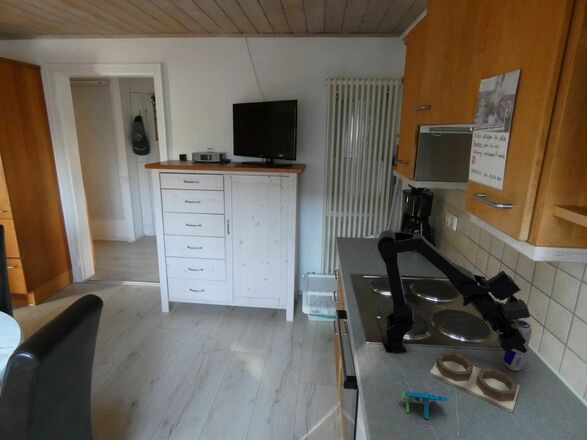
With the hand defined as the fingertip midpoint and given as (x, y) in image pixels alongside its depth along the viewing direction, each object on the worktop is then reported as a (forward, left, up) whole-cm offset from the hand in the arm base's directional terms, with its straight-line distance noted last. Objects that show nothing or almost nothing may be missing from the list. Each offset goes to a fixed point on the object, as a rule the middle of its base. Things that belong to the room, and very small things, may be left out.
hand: (522, 345), depth 102 cm
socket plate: (+5, -16, -8) cm, 19 cm away
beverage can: (0, -1, -8) cm, 8 cm away
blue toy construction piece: (+13, -35, -8) cm, 38 cm away
